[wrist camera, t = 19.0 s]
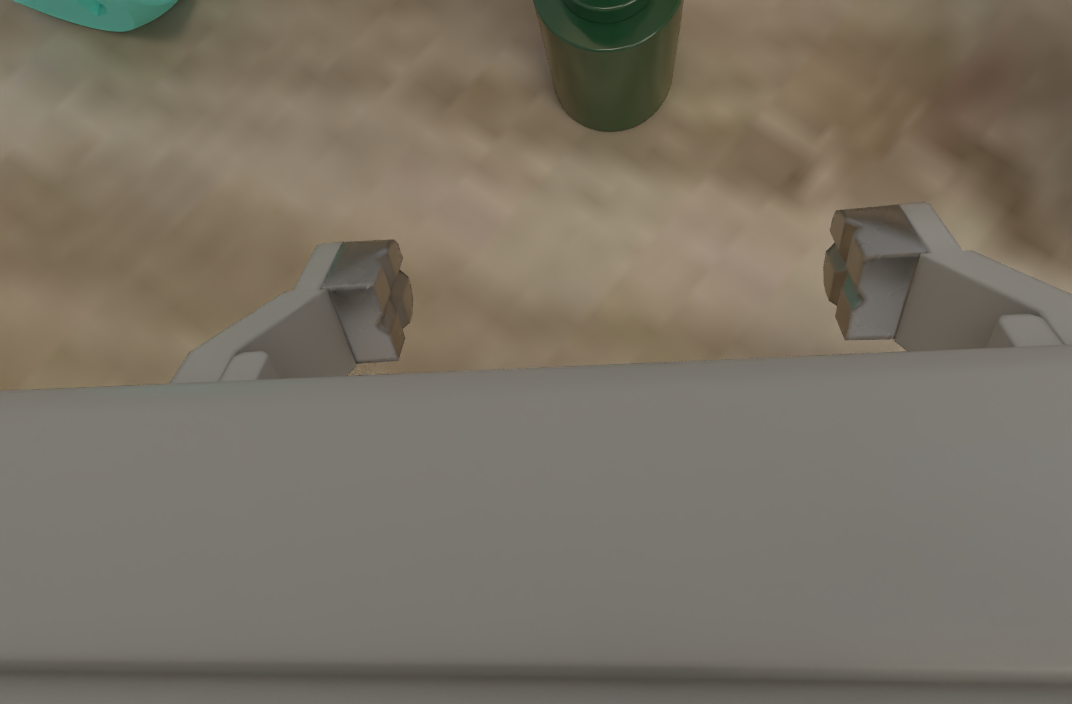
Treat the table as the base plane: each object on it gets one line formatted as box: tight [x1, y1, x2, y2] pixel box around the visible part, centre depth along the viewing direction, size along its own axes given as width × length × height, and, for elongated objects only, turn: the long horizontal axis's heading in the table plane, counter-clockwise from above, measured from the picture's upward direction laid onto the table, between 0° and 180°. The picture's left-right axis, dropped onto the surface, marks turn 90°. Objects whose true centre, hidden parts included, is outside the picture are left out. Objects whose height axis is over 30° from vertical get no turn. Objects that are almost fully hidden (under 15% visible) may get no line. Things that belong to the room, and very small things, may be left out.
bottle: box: [533, 0, 684, 132], centre depth 23 cm, size 5×5×9 cm
